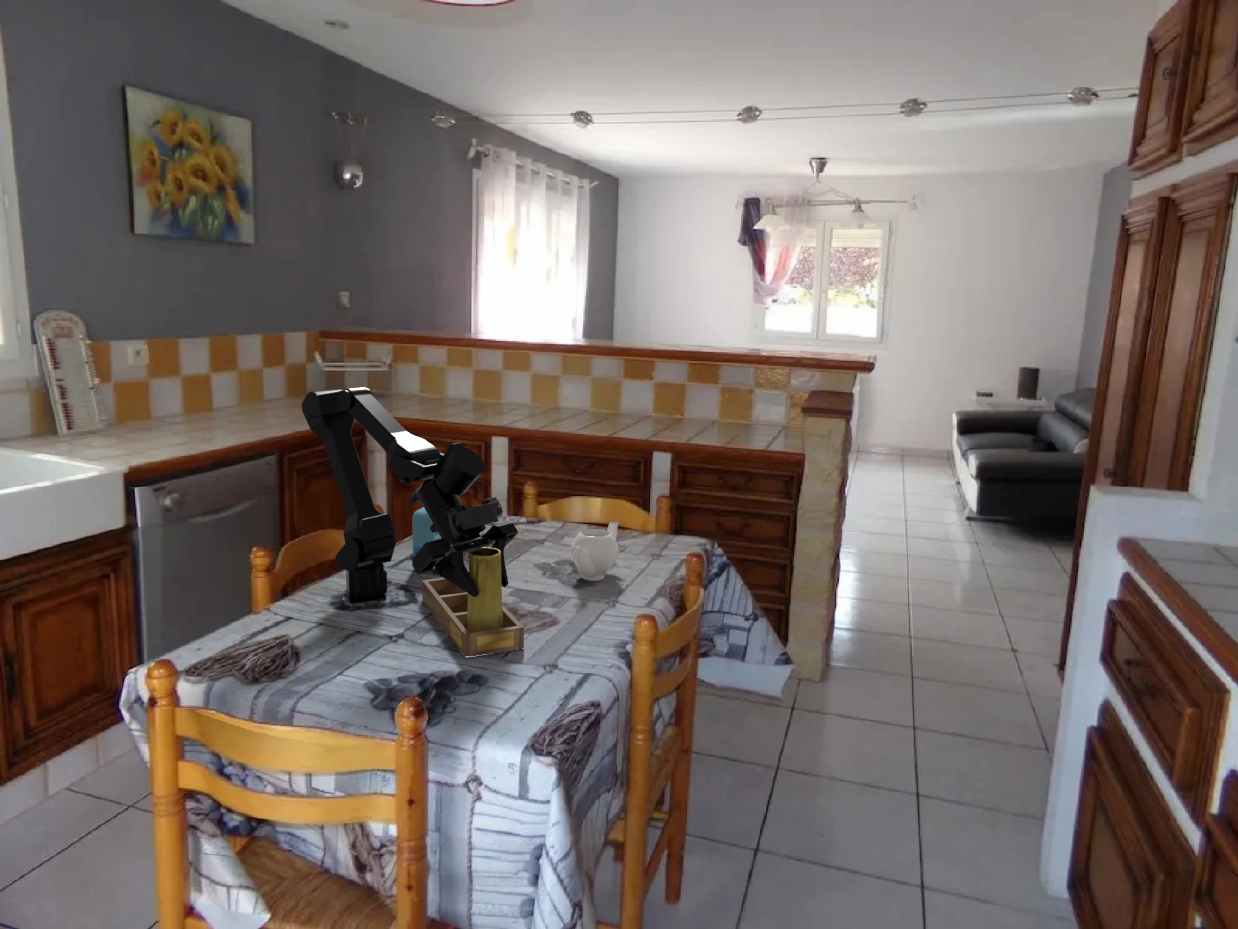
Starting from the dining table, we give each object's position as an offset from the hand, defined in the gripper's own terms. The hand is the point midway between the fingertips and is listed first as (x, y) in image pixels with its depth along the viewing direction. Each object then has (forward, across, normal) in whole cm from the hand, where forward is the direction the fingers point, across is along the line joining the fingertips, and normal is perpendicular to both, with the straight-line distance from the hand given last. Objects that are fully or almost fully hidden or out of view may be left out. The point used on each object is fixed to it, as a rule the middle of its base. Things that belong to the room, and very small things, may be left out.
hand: (491, 590), depth 138 cm
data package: (-20, +21, +34) cm, 45 cm away
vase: (+5, 0, +7) cm, 9 cm away
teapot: (0, +37, +13) cm, 39 cm away
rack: (0, +4, +13) cm, 14 cm away
